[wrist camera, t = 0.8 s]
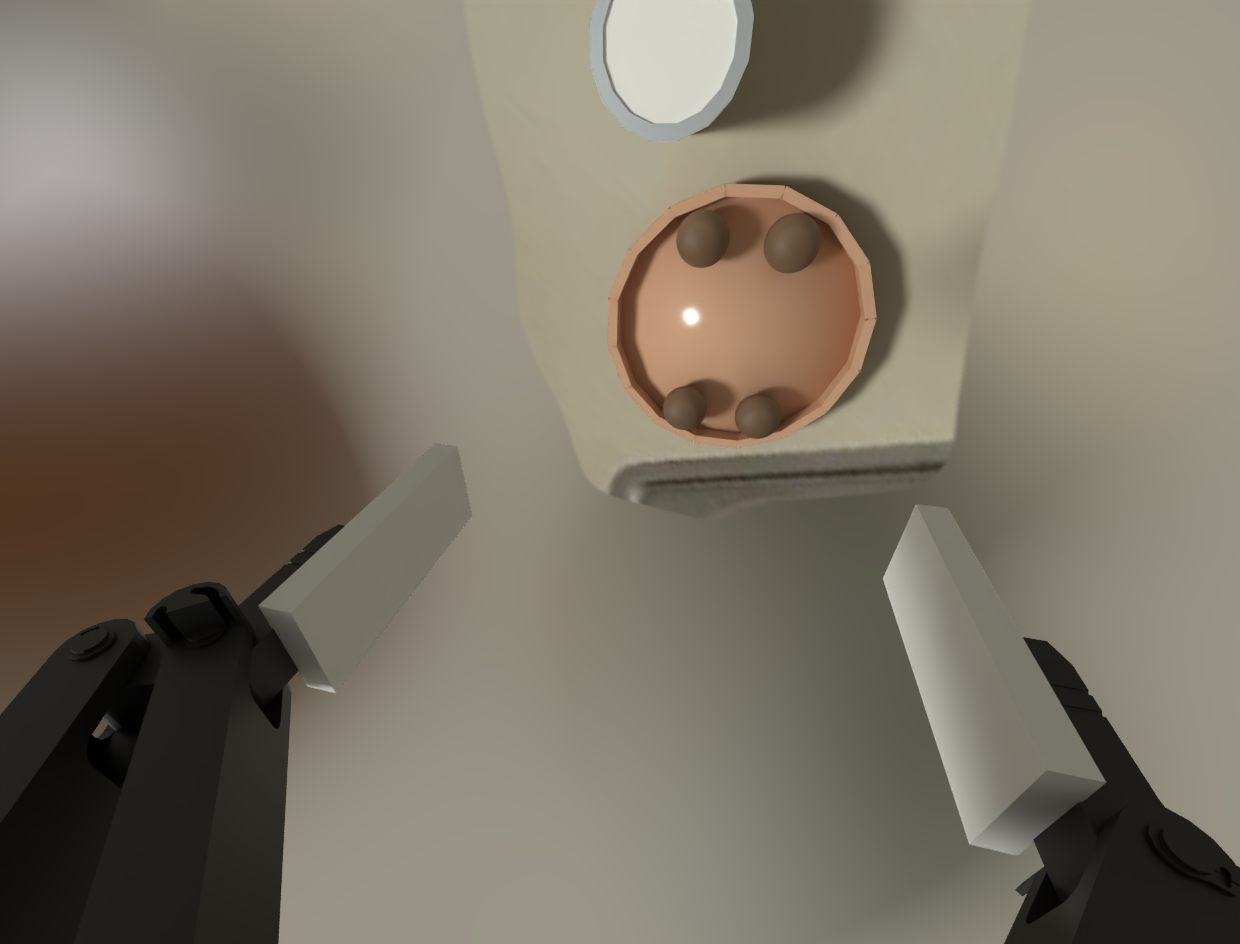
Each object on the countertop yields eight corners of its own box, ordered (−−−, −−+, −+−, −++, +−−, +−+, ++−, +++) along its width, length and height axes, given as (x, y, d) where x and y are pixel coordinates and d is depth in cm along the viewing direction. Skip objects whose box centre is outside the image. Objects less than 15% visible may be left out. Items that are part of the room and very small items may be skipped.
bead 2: (667, 377, 33) (661, 394, 31) (710, 382, 33) (708, 399, 30) (664, 416, 35) (658, 434, 32) (705, 421, 34) (702, 440, 32)
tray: (618, 179, 29) (610, 179, 27) (904, 188, 26) (916, 189, 24) (613, 419, 37) (606, 432, 35) (828, 445, 34) (832, 460, 33)
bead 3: (738, 384, 33) (738, 402, 30) (783, 389, 32) (787, 407, 30) (731, 424, 34) (731, 443, 32) (774, 429, 34) (777, 449, 31)
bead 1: (681, 206, 28) (675, 209, 25) (734, 209, 27) (732, 212, 25) (677, 262, 29) (671, 270, 27) (726, 265, 29) (724, 273, 26)
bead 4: (767, 210, 27) (770, 214, 24) (823, 212, 26) (831, 216, 24) (758, 267, 29) (759, 275, 26) (810, 270, 28) (817, 279, 26)
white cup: (780, 44, 24) (792, 3, 18) (694, 176, 28) (682, 177, 22) (672, -55, 23) (649, -133, 17) (598, 96, 27) (559, 74, 21)
